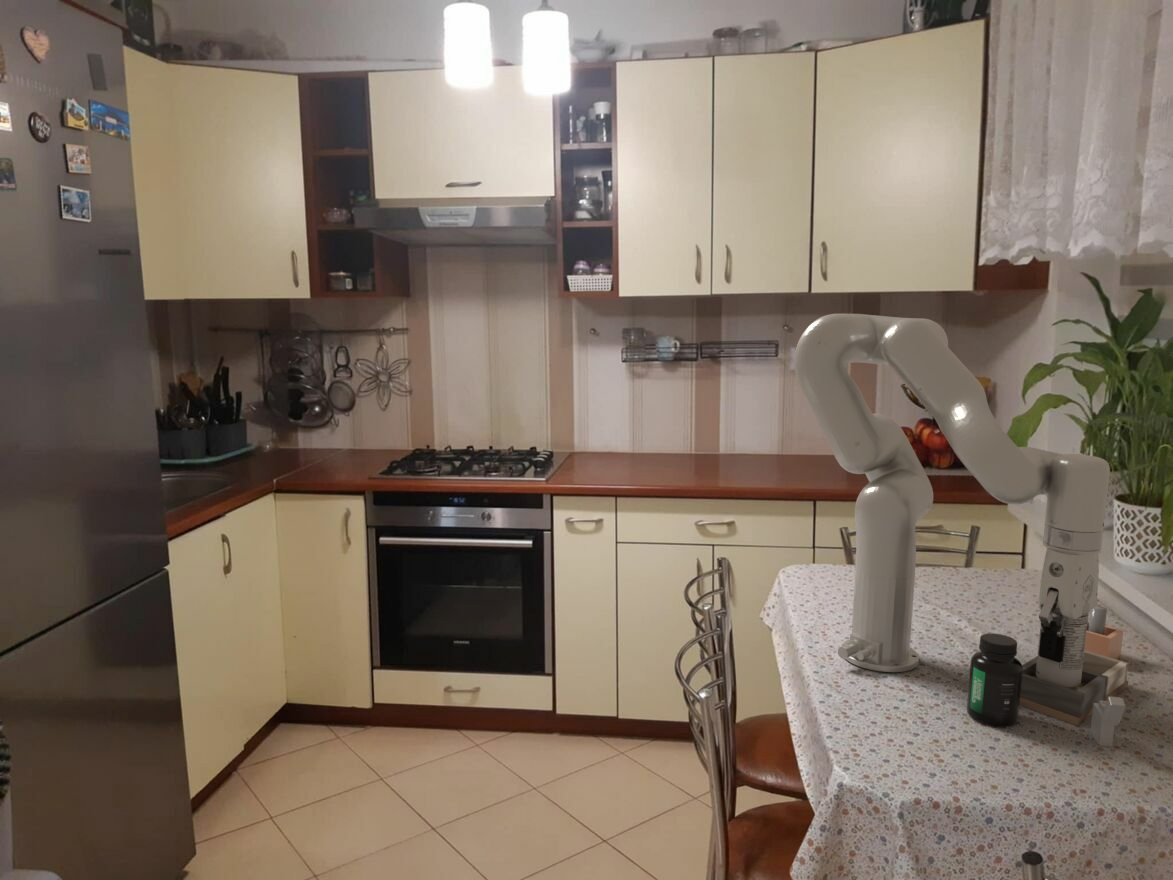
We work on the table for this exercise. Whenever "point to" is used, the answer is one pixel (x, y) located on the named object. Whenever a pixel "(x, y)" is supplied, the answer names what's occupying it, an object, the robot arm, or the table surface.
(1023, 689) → the wooden tray
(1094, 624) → the square terracotta planter
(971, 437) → the robot arm
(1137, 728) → the table surface
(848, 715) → the table surface
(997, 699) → the supplement bottle
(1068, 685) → the energy drink can
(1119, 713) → the grey notched block
